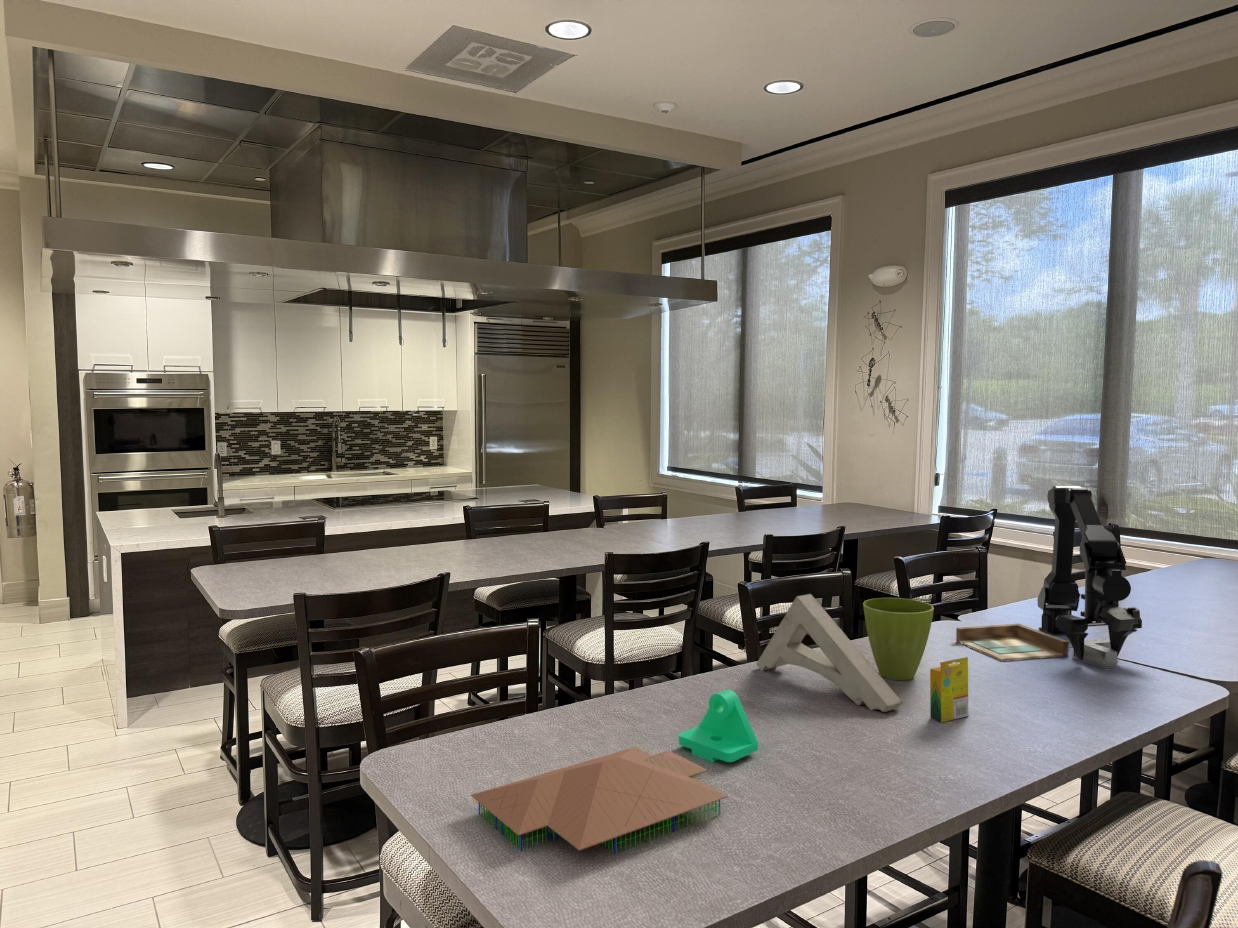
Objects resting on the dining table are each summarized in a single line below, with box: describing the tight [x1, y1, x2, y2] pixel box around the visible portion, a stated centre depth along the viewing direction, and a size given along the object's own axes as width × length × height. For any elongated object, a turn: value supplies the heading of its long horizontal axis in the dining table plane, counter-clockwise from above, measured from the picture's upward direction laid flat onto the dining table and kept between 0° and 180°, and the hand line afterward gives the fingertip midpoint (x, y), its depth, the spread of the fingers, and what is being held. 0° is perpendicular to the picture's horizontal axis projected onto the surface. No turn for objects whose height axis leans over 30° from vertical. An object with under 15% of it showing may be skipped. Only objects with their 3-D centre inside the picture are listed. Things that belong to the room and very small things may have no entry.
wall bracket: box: [756, 593, 903, 713], centre depth 179 cm, size 22×4×30 cm
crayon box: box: [929, 656, 969, 724], centre depth 161 cm, size 7×3×12 cm, turn 115°
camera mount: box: [678, 689, 759, 763], centre depth 146 cm, size 12×8×10 cm, turn 44°
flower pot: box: [862, 597, 935, 681], centre depth 187 cm, size 15×15×16 cm
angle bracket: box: [1072, 638, 1118, 670], centre depth 196 cm, size 10×9×4 cm
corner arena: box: [955, 623, 1070, 662], centre depth 208 cm, size 18×18×4 cm
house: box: [470, 746, 729, 855], centre depth 124 cm, size 23×33×8 cm
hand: (1097, 658), depth 194 cm, fingers open, 9 cm apart
